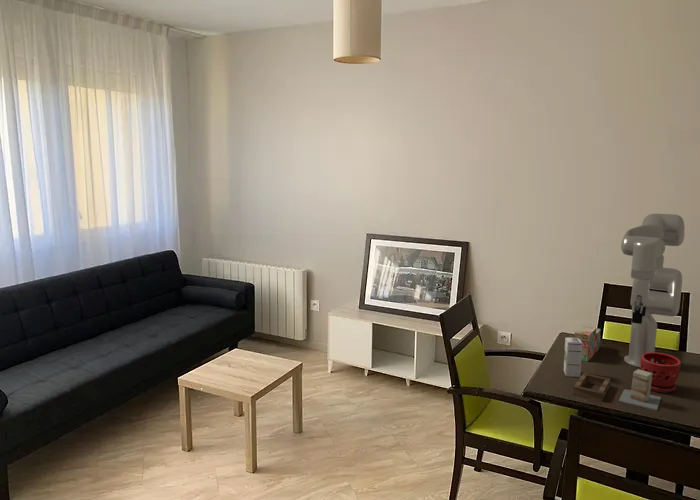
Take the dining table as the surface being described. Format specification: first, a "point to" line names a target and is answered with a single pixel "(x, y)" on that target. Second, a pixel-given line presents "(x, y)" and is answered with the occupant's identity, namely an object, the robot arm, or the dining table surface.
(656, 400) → the mat
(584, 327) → the brown printed cardboard box
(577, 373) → the syrup box
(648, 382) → the skincare box
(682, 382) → the dining table surface
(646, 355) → the plant pot
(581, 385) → the pocket block
